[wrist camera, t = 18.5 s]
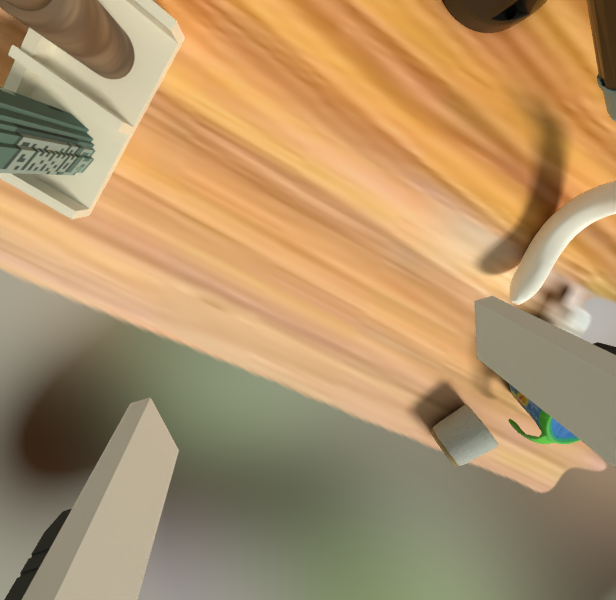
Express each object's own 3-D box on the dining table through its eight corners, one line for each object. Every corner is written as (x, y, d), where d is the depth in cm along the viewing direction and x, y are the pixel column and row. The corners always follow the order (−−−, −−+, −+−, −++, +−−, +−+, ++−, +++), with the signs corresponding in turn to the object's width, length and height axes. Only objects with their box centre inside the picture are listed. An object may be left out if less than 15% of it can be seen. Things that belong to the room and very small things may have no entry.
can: (52, 96, 33) (-97, 33, 19) (106, 145, 35) (8, 122, 21) (16, 140, 33) (-154, 111, 19) (70, 186, 36) (-47, 189, 22)
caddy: (87, -44, 30) (63, -76, 27) (185, 38, 33) (176, 20, 30) (-6, 159, 34) (-37, 157, 31) (89, 215, 38) (71, 219, 34)
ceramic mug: (421, 422, 57) (445, 457, 50) (459, 395, 57) (489, 427, 50) (447, 453, 61) (473, 489, 54) (483, 428, 61) (513, 462, 54)
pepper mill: (93, 5, 31) (-75, -180, 15) (143, 45, 32) (39, -83, 17) (70, 54, 32) (-111, -71, 16) (120, 91, 33) (1, 10, 18)
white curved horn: (487, 291, 50) (573, 331, 36) (561, 171, 45) (693, 168, 32) (509, 301, 51) (601, 344, 38) (584, 187, 47) (720, 189, 33)
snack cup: (507, 421, 61) (554, 465, 51) (477, 394, 57) (521, 436, 48) (573, 364, 58) (635, 399, 49) (546, 331, 55) (607, 363, 45)
